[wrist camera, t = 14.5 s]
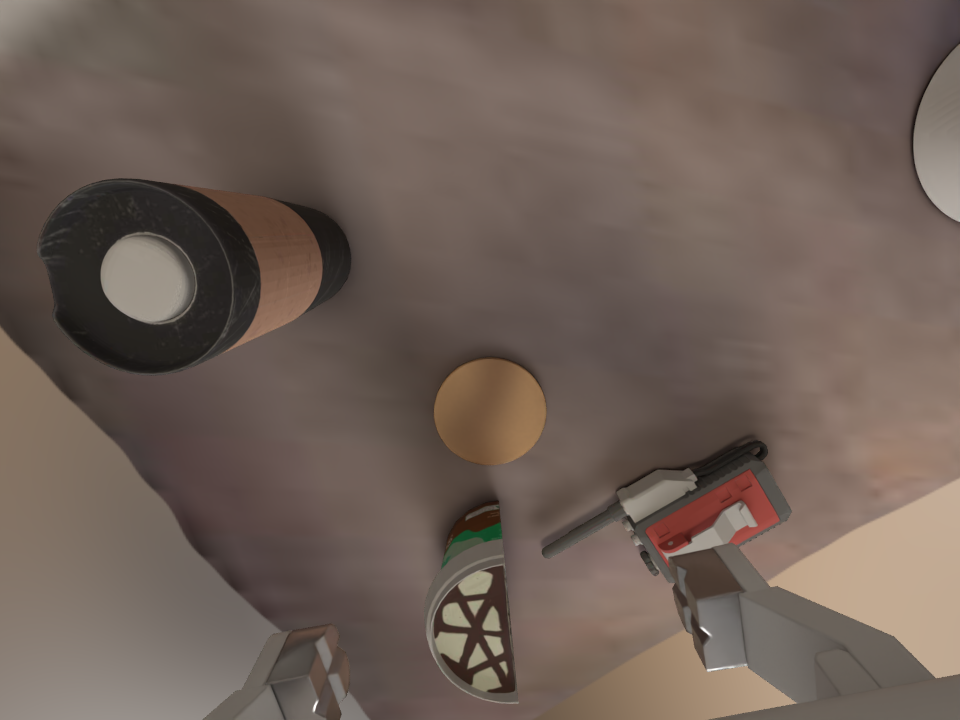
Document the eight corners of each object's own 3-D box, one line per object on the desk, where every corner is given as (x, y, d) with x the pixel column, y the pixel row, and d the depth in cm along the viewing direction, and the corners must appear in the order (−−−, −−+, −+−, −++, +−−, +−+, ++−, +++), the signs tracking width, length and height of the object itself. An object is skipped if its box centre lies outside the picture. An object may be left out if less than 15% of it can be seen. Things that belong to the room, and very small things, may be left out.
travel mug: (376, 253, 39) (279, 276, 20) (312, 327, 40) (162, 418, 21) (294, 180, 38) (104, 126, 18) (231, 259, 39) (-10, 287, 20)
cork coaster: (534, 346, 41) (534, 347, 40) (554, 450, 43) (555, 453, 43) (422, 370, 41) (421, 372, 41) (448, 472, 43) (448, 475, 43)
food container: (424, 491, 44) (410, 565, 34) (497, 484, 44) (504, 556, 34) (440, 616, 47) (432, 717, 37) (509, 609, 47) (519, 709, 37)
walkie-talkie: (741, 413, 42) (533, 536, 45) (772, 434, 38) (540, 568, 41) (788, 495, 44) (586, 608, 47) (822, 523, 40) (597, 647, 42)
